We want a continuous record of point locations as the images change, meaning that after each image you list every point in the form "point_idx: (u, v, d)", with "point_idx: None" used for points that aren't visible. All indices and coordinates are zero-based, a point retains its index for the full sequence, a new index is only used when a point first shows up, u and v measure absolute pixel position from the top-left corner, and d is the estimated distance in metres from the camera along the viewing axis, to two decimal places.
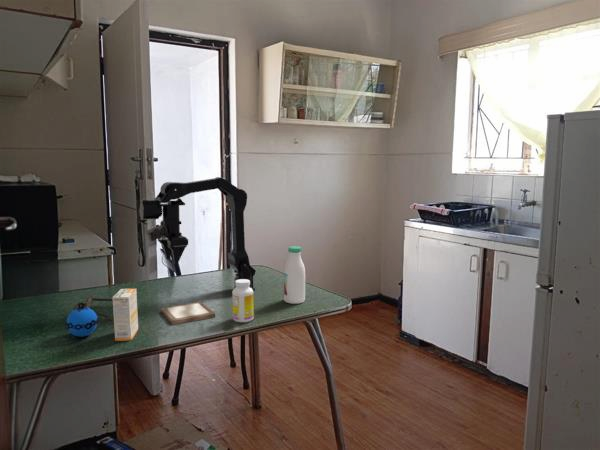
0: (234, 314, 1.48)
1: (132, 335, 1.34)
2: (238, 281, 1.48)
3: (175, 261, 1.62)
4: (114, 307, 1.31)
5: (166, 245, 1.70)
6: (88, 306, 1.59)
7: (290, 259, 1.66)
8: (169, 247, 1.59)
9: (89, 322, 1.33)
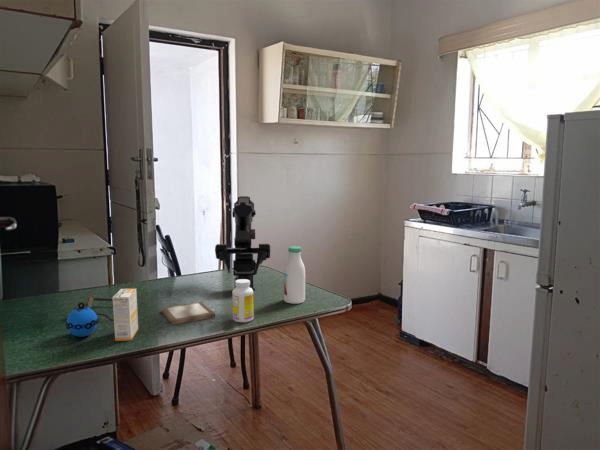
0: (234, 314, 1.48)
1: (132, 335, 1.34)
2: (238, 281, 1.48)
3: (258, 268, 1.57)
4: (114, 307, 1.31)
5: None
6: (89, 306, 1.59)
7: (290, 259, 1.66)
8: (262, 251, 1.59)
9: (89, 322, 1.33)
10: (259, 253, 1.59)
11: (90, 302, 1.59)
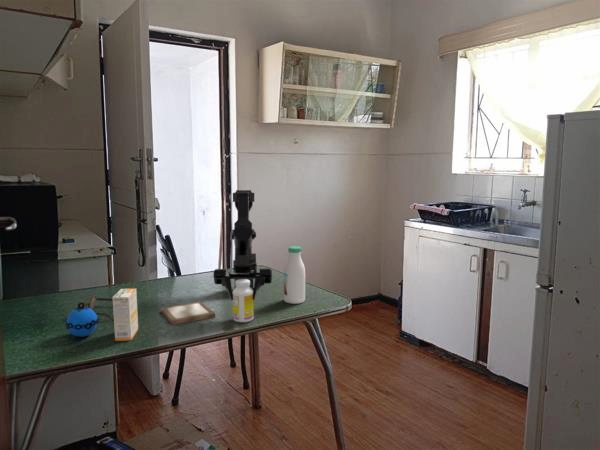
0: (234, 314, 1.48)
1: (132, 335, 1.34)
2: (238, 281, 1.48)
3: (255, 295, 1.49)
4: (114, 307, 1.31)
5: (230, 285, 1.50)
6: (92, 306, 1.60)
7: (290, 259, 1.66)
8: (259, 277, 1.50)
9: (89, 322, 1.33)
10: (256, 279, 1.50)
11: (93, 302, 1.60)
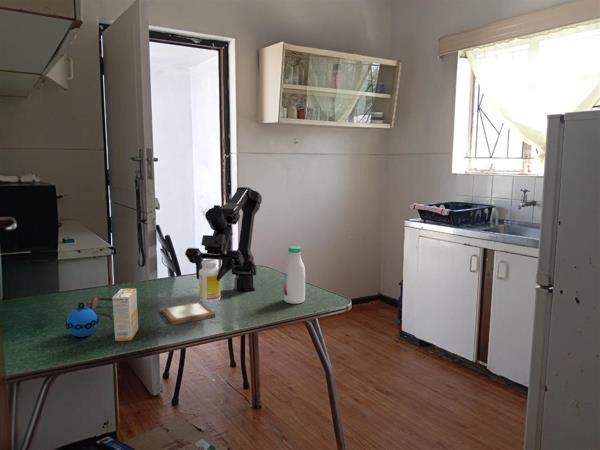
0: None
1: (132, 335, 1.34)
2: (204, 261, 1.49)
3: (219, 276, 1.48)
4: (114, 307, 1.31)
5: (200, 264, 1.52)
6: (94, 305, 1.60)
7: (290, 259, 1.66)
8: (226, 258, 1.49)
9: (89, 322, 1.33)
10: (223, 260, 1.49)
11: (95, 302, 1.60)
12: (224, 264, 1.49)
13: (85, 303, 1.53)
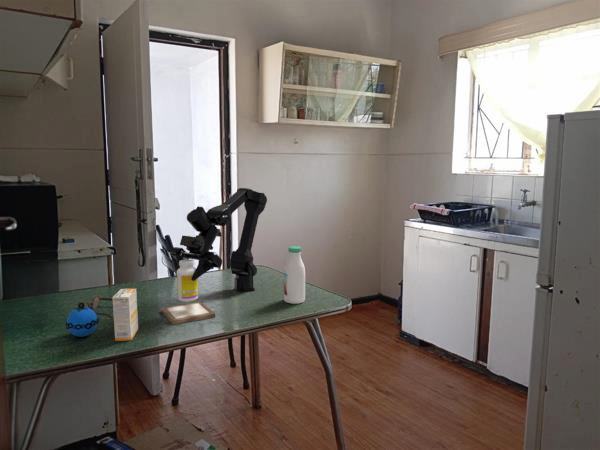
0: (177, 292, 1.53)
1: (132, 335, 1.34)
2: (182, 260, 1.52)
3: (194, 277, 1.50)
4: (114, 307, 1.31)
5: None
6: (95, 305, 1.60)
7: (290, 259, 1.66)
8: (202, 259, 1.51)
9: (89, 322, 1.33)
10: (199, 261, 1.51)
11: (96, 302, 1.60)
12: (200, 265, 1.51)
13: (86, 303, 1.53)
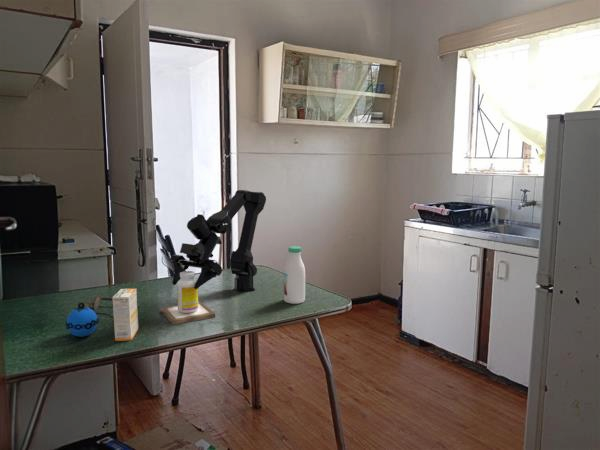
0: None
1: (132, 335, 1.34)
2: (183, 272, 1.53)
3: (197, 285, 1.50)
4: (114, 307, 1.31)
5: (179, 271, 1.57)
6: (96, 305, 1.60)
7: (290, 259, 1.66)
8: (204, 267, 1.50)
9: (89, 322, 1.33)
10: (202, 269, 1.51)
11: (97, 302, 1.60)
12: (203, 273, 1.51)
13: (87, 303, 1.53)
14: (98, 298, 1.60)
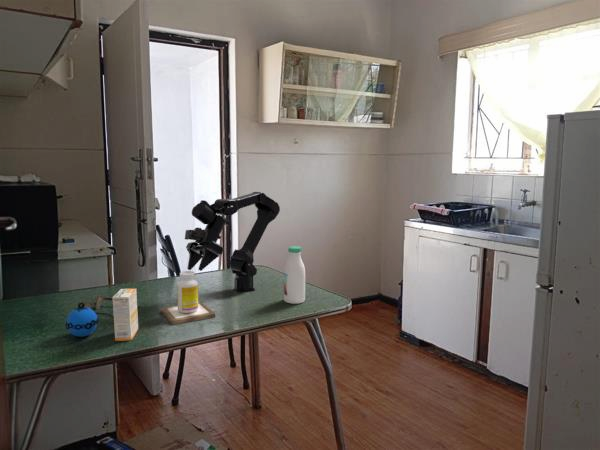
0: None
1: (132, 335, 1.34)
2: (182, 272, 1.53)
3: (201, 266, 1.58)
4: (114, 307, 1.31)
5: (193, 256, 1.68)
6: (98, 305, 1.60)
7: (290, 259, 1.66)
8: (203, 249, 1.58)
9: (89, 322, 1.33)
10: (203, 251, 1.58)
11: (99, 301, 1.60)
12: (204, 255, 1.58)
13: (89, 303, 1.53)
14: (100, 298, 1.61)
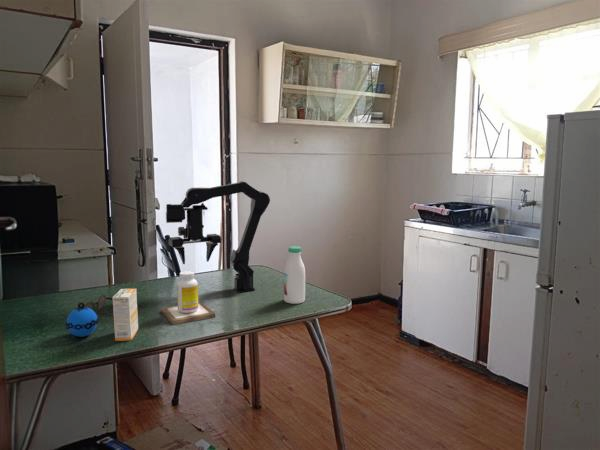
0: None
1: (132, 335, 1.34)
2: (182, 272, 1.53)
3: (182, 261, 1.73)
4: (114, 307, 1.31)
5: (208, 248, 1.78)
6: (101, 305, 1.60)
7: (290, 259, 1.66)
8: None
9: (89, 322, 1.33)
10: None
11: (101, 301, 1.60)
12: None
13: (91, 303, 1.53)
14: (102, 298, 1.61)
